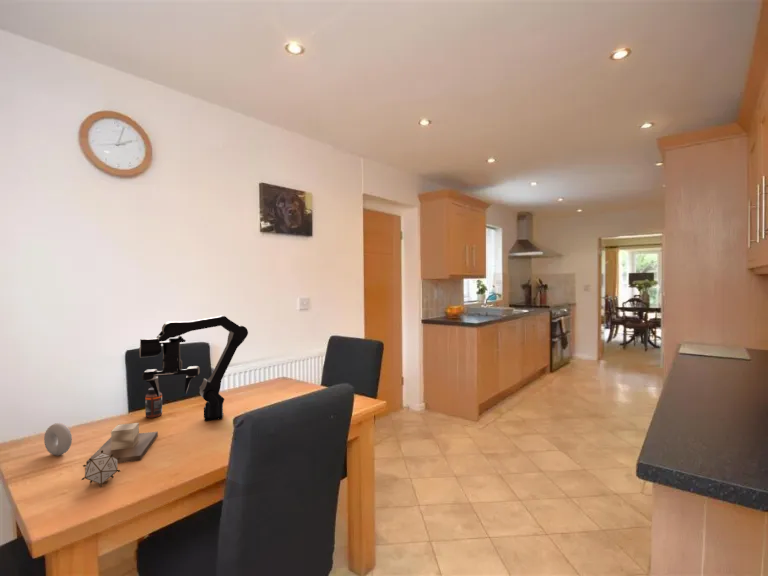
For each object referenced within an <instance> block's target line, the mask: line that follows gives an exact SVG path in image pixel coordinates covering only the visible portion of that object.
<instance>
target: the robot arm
mask: <svg viewBox="0 0 768 576" xmlns="http://www.w3.org/2000/svg"><path fill="white" fill-rule="evenodd" d="M220 326H221V327H222V328H223V329H225V330H226V331H227V332H228V335H227V342H226V344H225V345H226V346H225V347H224V349H223V351H222V353H221V355H220V357H219V360H218V361H217V363H216V365H215V367H214V369H213V371H212V373H211V375H210V377H208V378H203V381H202V383H201V385H200V386H199V394H200V396H201V398H202V399H203V400H204V401H205V404H204V405H205V406H204V407H203V419H204V421H205V422H207V421H217V420H218V421H219V420H223V418H224V415H225V414H224V401H225V398H224V397H223V396H222V395H221V394H220V391H221V384H222V380H223V378H224V376H225V373H227V370H228V367H229V366H230V364H231V362H232V359H233V357H234V356H235V353H236V351H237V349H238V348H239V346H241V345H242V343H244V341H245V339H246V338H247V337H248V335H249V331H248V329H247V327H245V326H243V325H240V324H237V323H235V322H234V321H232V320H230V319H229V318H228V317H227V316H225V315H218V316H213V317H207V318H201V319H195V320H189V321H188V320H187V321H186V320H185V321H183V320H182V321H181V320H177V321H176V320H171V321H170V320H169V321H166V322H165V323H164V324H163V325H162V327H161V331H160V332H159V334H158V335H157V336H156V337H154V338H141V339H140V340H139V342H140V343H139V348H138V349H139V350H138V351H139V358H140V359H141V358H151V357H158V356H159V355H160V354H161V353H162V360H161V367H162V368H163V369H162V370H158V369H157V368H153V369H152V368H151V369H149V368H148V369H146V370H144V372H142V374H141V380H142V381H145V382H146V383H149V384H150V385H151V388H153V389H154V390H155V392H156V394H157V396H158V397H159V395H160V392H161V391H160V383H159V377H163V376H165V377H167V376H177V375H186V377H185V380H184V395H187V393H188V390H189V387H190V383H191V381H192V379H194V378H195V377H197V376H199V374H200V373H201V372H200V369H201V368H200V366H198V365H193V366H192V365H191V366H188V367H187V368H185V369H183V360H182V359H181V343H186V339H184V337H183V336H182V335H185V334H186V333H190V332H194V331H198V330H204V329H210V328H217V327H220Z"/></svg>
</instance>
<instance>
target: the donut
mask: <svg viewBox="0 0 768 576" xmlns="http://www.w3.org/2000/svg"><path fill="white" fill-rule="evenodd" d="M43 436H44V440H43V443H44V446H45V449H46V451H47V452H48V453H49V454H50V455H53V456H62V455H64V454H65V453H67V452H68V451H69V449H70V448H71V445H72V442H73V437H72V436H73V435H72V433H71V430H70V428H69V427H68V426H67V425H66V424H65V423H61V422H59V423H58V422H57V423H53V424H51V425H50V426H49V427H48V428H47V429H46V430H45V432H44V435H43Z"/></svg>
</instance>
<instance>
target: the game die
mask: <svg viewBox="0 0 768 576" xmlns="http://www.w3.org/2000/svg"><path fill="white" fill-rule="evenodd" d="M113 455H114V454H111V455H108V454H105V453H103V450H102V451H101V454H99V455H98V456H96V457H95V458H93V459H91V457H89V458H88V460H90V462H89V463H88V464H87V465H86V464H83V465H82V467H83V468H85V471H84V477H82V478H81V479H80V481H84V480H88V481H89V484H91V483H93V482H94V483H96V484H99V487H100V488H103V484H105V482H107V481H108V480H109V479H111V478H112V479H113V478H114V477H115V476H114V475H115V474H116V473H117V472H118V473H119V472H121V470H120V469H118V466H119V465H118V464H119V463H118V460H119V459H120V458H121V457H119V458H118V459H117V458H115V457H113Z"/></svg>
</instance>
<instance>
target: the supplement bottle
mask: <svg viewBox="0 0 768 576" xmlns="http://www.w3.org/2000/svg"><path fill="white" fill-rule="evenodd" d="M147 392H148V393H146V394H145V403H144V405H145V417H146V418H149V419H151V418H157V417H160V416H161V415H162V414H163V393H162V392H161V391H160V395H159V397H158V396H157V394H156V392H155V390H154V389H153V387H150V388H148V390H147Z"/></svg>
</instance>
